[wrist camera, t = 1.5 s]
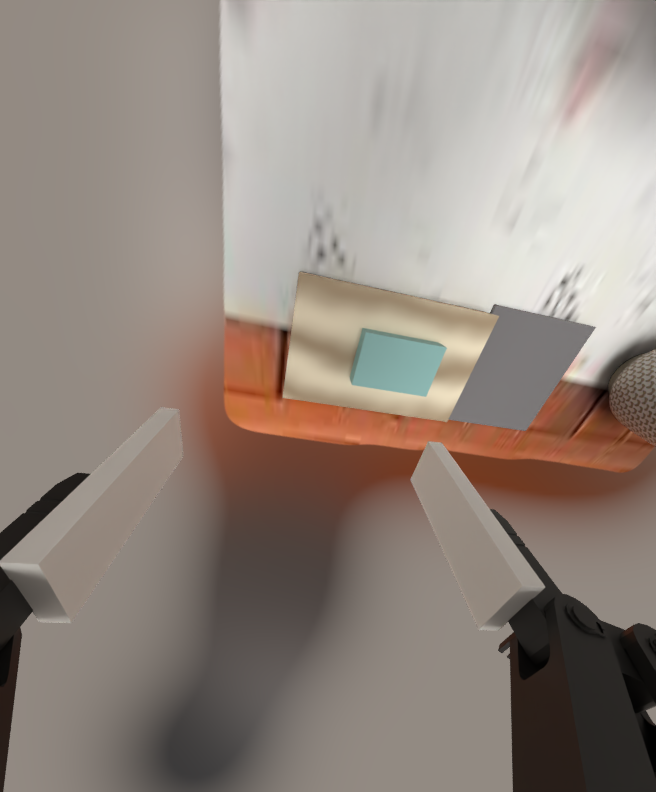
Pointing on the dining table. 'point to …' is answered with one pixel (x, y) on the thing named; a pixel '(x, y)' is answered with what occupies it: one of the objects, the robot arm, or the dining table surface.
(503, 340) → the mat
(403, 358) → the teal foam pad
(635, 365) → the planter
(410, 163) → the dining table surface
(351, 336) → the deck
